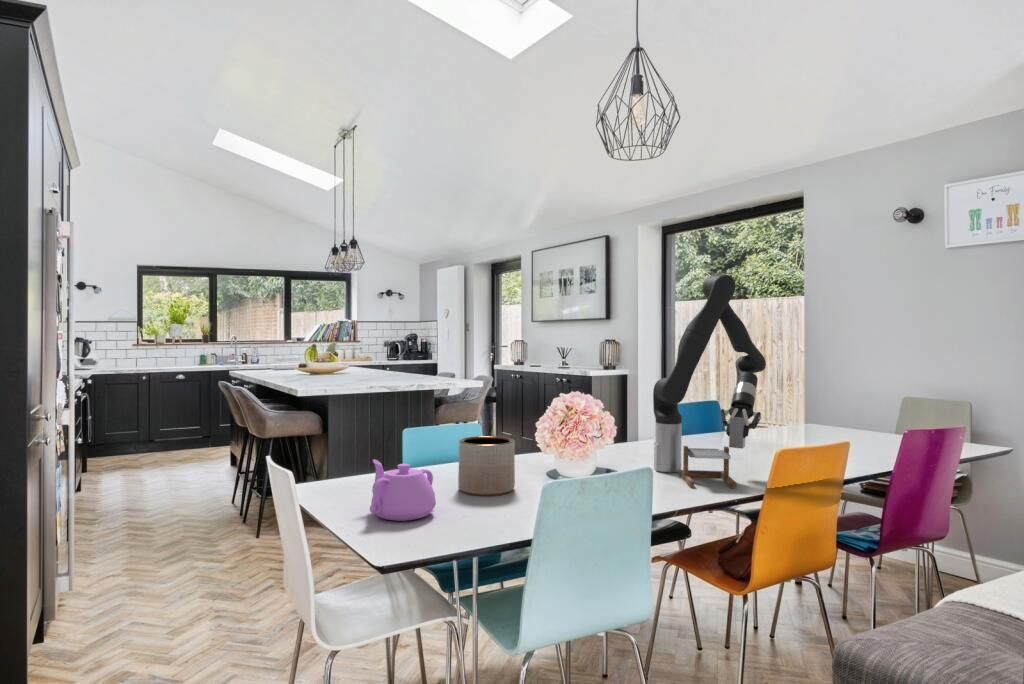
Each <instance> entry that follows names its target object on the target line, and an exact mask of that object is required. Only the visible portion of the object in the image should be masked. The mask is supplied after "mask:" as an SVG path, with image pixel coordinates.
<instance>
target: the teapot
mask: <svg viewBox="0 0 1024 684" xmlns="http://www.w3.org/2000/svg"><path fill="white" fill-rule="evenodd" d="M372 462H373V464H374V468H375V478H374V483H373V485H372V489H371V490H372V491H371V492H372V497H371V502H370V503H371V505H370V506H369V511H370V513H371V514H372V515H377V517H379V518H380V519H384V520H388V521H396V522H397V521H398V522H407V521H412V520H413V521H414V520H418V519H422V518H423V519H424V518H426V517H427V516H428V515H430V513H432V511H433V510H434V508H436V501H437V500H436V493H435V491H434V489H433V481H434V475H433V473H432V472H431V470H429V469H425V468H424V469H423V468H422V469H415V468H411V464H410V463H399V464H397V465H396V467H397V468H396V469H390V470H386V472H385V471H384V467H383V465H382V463H381V462H380V461H379V460H378V459H372ZM425 474H426V475H425Z"/></svg>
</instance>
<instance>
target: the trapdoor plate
mask: <svg viewBox="0 0 1024 684" xmlns="http://www.w3.org/2000/svg"><path fill="white" fill-rule="evenodd" d="M688 450H690V452H688V458H695V459H713V460H714V459H716V460H718V459H719V460H720V459H722V460H724V459H729V460H730V459H731V457H732V456H731V454H730V453H729V454H728V453H726V452H725V451H724V449H719V448H697V447H696V448H694V447H693V448H691V447H688Z"/></svg>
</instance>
